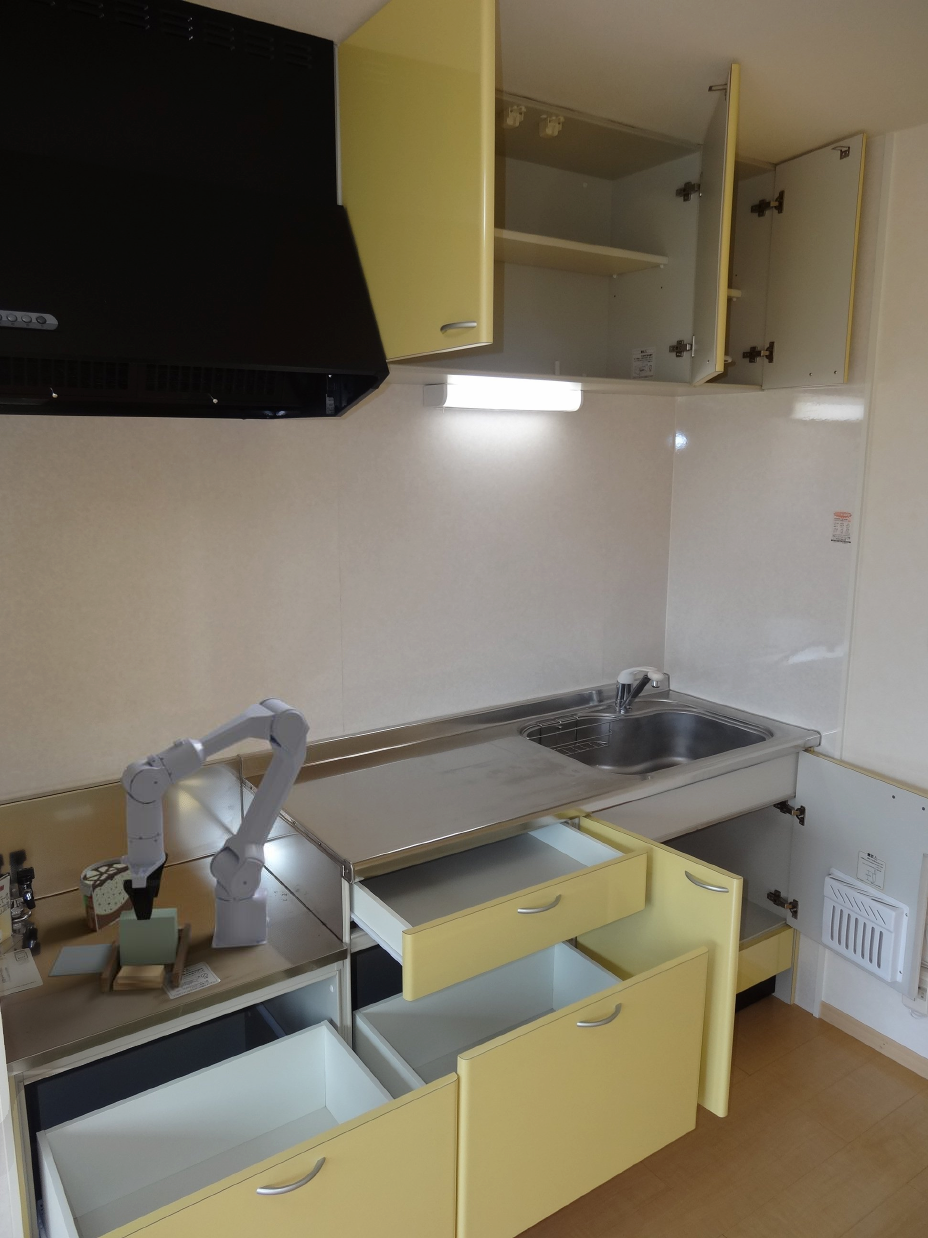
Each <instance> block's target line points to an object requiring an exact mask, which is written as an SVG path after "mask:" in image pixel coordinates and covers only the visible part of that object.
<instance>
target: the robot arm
mask: <svg viewBox="0 0 928 1238" xmlns="http://www.w3.org/2000/svg"><path fill="white" fill-rule="evenodd" d="M307 721H308V720H307V719H306V717H305V715H304V713H303V712H302V711H301V710H299V709H297V708H294V707H292V706H290V705H288V704H286V703H285V702H284V701H283V700H281V699H280V698H278V697H273V696H271V697H267V698H266V697H265V698H264V699H262V700H261V701H259V703H254V704H250V706H249V707H248V708H247V709H246V710H244V712H242V713H240V714H239V715H237V716H235V717H234V718H232V719H230V720H229V721H227V722H225V723H224V724H222V725H220V726H219V727H217V728H216V729H214V730H212V731H210V732H209V733H208V734H206V735H204V736H202V737H201V738H199V739H197V740H196V739H192V738H185V739H183V740H182V739H181V738H178V739H176V740H173V742H172V743H173V745H172V746H170V747H167V748H166V749H164V750H162V751H160V752H158V753H156V754H155V755H154V754H152V753H151V754H150V755H148V756H146V759H144V760H141V759H139V760H135V761H132V762H131V763H130V764H128V765H127V766H126V768H125V769H124V770H123V771H122V772H123V773H122V775H121V777H120V778H119V781H120V785H121V786H122V787H123V789H124V790H125V791H126V793H125V798H126V801H125V802H126V807H125V819H126V820H125V821H126V840H127V844H126V845H127V854H126V855H123V856H121V857H120V858H121V860H120V861H121V864H127V865H128V867H129V869H130V872H131V874H132V879H126V880H125V881H124V883H123V889H124V891H125V892H126V893H127V895H128V896H129V898H130V900H131V902H132V905H133V908H134V912H135V915H136V918H137V920H150V918H151V915H152V910H153V909H154V902H155V901H154V899H155V898H158V896H159V894H160V888H161V883H162V875H163V871H164V867H165V865H166V864H167V861H168V859H169V853H167V852H164V850H165V849H164V846H165V844H164V819H163V817H164V816H163V814H164V812H163V811H164V810H163V803H162V802H163V801H162V797H164V794H165V793H166V791H167V789H168V788H169V787H170V786H172V785H174V784H176V783H177V782H180V781H181V780H183V779H184V778H186V777H189V776H190V775H192V774H194V773H196V772H197V771H199V770H201V769H203V768H204V766H205V764H206V761H207V759H208V758H209V757H210V756H211V757H212V756H214V755H216V754H217V753H219V752H221V751H224V750H225V749H228V748H230V747H232V746H234V745H235V744H236V745H237V744H239V743H240V742H243V741H244V740H247V739H249V738H251V739H252V738H253V739H259V740H265V741H268V742H269V745H270V747H271V749H272V752H273V757H272V758H271V761H270V763H269V765H268V767H267V768H266V771H265V773H264V775H263V777H262V780H261V782H260V783H259V786H258V787H257V789H256V791H255V794H254V796H253V798H252V801H251V802H250V804H249V806H248V809H247V811H246V813H245V815H244V816H243V819H242V821H241V823H240V825H239V827H238V829H237V831H236V833H235V834H234V835H232V836H230V837H228V838H226V839H225V841H224V844H223V845H222V847H221V848H220V849H219V850H217V852H215V854H214V855H212V858H210V859H211V860H210V862H209V871H210V874H211V875H212V877H213V878H215V879H216V881H215V882H216V884H215V886H214V908H215V909H214V911H215V913H214V915H215V917H214V918H215V919H214V920H215V927H214V930H213V936H212V937H213V938H212V943H211V948H212V949H220V948H233V947H234V948H235V947H249V946H252V947H253V946H262V945H263V946H265V945H267V941H268V929H269V928H270V917H269V913H268V911H269V910H268V904H269V903H268V901H269V900H268V888H266V887H260V886H261V882H262V881H261V880H262V871H263V868H264V866H265V864H266V859H265V858H266V857H265V849H264V848H265V847H264V846H265V844H266V842H267V840H268V838H269V835H270V834H271V832H272V830H273V828H274V826H275V824H276V821H277V819H278V817H279V815H280V813H281V811H282V809H283V806H284V805H285V803H286V801H287V798H288V796H289V794H290V792H291V790H292V788H293V786H294V784H295V782H296V780H297V778H298V776H299V773H300V771H301V769H302V766H303V765H304V763H305V761H306V758H307V735H308V733H309V731H310V728H311V727H310V725H309V723H308V722H307Z"/></svg>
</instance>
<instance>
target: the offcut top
mask: <svg viewBox="0 0 928 1238" xmlns="http://www.w3.org/2000/svg"><path fill="white" fill-rule="evenodd" d="M164 971H165V964H153V965H138V966H123V967H121V969H120V970H119V972H118V973H119V974H118V973H117V974H118V976H117V975H116V976H117V977H118V983H151V982H160V980H161V978H162V976H163V973H164Z"/></svg>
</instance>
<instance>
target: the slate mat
mask: <svg viewBox="0 0 928 1238" xmlns="http://www.w3.org/2000/svg"><path fill="white" fill-rule="evenodd" d="M113 946H114V943H101V944H85V945H70V946H62V948H61V951H60V953H59V955H58V957H57V959H56V960H55V963H54V965H53V967H52V968H51V970H50V973H49V974H48V977H61V976H77V975H90V974H92V975H93V974H103V972H104V969H105V966H106V964H107V961H108V959H109V956H110V953H111V951H112V948H113Z"/></svg>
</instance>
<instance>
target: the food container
mask: <svg viewBox="0 0 928 1238" xmlns="http://www.w3.org/2000/svg"><path fill="white" fill-rule="evenodd" d="M121 858H122V857H119V858H111V859H106V860H102V861H98V862H96V863H93V864H92V865H89V866H88V867H86V868H84V870H83V872H82V873H81V875H80V877H79V881H78V885H77V886H78V891H79V892H80V893H81V894H82V895H83V902H84V908H85V914H86V920H87V927H88V928H89V929H90V930H92V931H94V932H99V931H100V930H102V929H103V928H105V927H106V926H111V925H113V924H115V923H116V922H119V918H120V915H121V913H122V911H131V910H134V908H133V905H132V902H131V900H130V898H129V896H128V895H127V893H126V892H125V891H124V889H123V883H124V881H125V880H126V879H132V874H131V872H130V869H129V867H128V865H127V864H121V861H120V860H121Z"/></svg>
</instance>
